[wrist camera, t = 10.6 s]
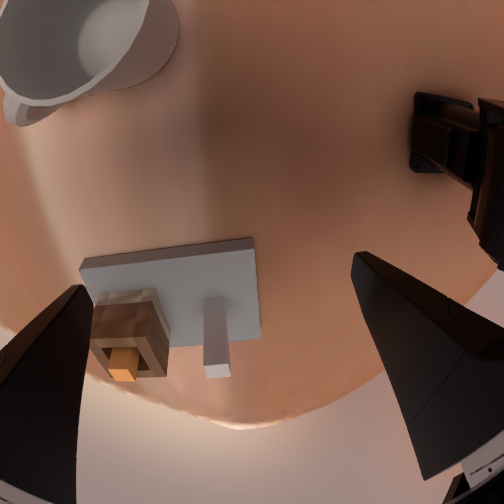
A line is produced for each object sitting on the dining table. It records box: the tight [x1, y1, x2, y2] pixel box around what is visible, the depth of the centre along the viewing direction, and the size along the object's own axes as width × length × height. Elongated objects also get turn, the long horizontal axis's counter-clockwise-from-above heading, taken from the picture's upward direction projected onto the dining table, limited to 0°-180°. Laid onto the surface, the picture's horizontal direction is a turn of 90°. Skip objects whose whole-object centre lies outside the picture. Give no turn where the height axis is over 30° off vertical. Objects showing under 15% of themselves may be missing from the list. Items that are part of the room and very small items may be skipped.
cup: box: [0, 0, 179, 127], centre depth 10 cm, size 7×10×9 cm
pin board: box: [79, 238, 261, 381], centre depth 22 cm, size 14×10×8 cm
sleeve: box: [89, 288, 171, 378], centre depth 21 cm, size 5×5×5 cm
